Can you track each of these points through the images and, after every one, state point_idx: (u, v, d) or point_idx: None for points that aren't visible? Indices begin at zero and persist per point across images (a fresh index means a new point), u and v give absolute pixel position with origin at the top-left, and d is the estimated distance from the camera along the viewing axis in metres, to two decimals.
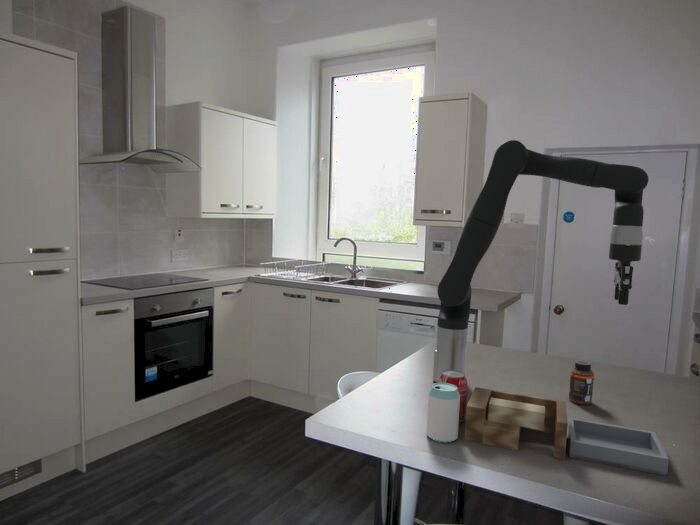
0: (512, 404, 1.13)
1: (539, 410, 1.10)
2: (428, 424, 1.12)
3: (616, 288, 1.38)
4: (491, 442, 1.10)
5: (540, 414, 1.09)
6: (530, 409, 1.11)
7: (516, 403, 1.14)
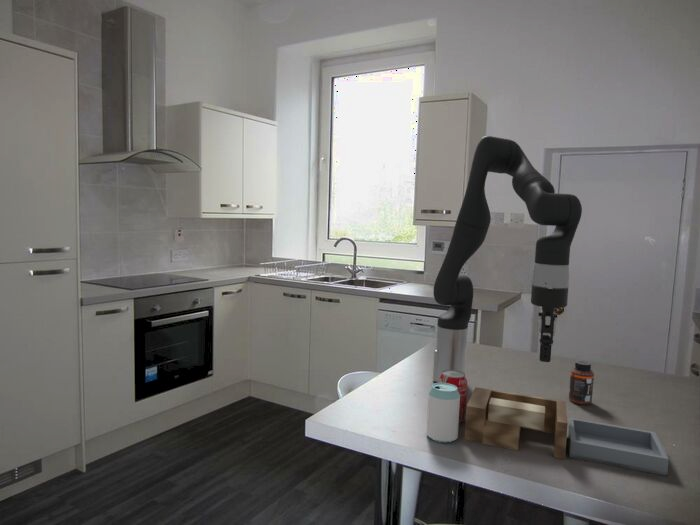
0: (512, 404, 1.13)
1: (539, 410, 1.10)
2: (428, 424, 1.12)
3: None
4: (491, 442, 1.10)
5: (540, 414, 1.09)
6: (530, 409, 1.11)
7: (516, 403, 1.14)
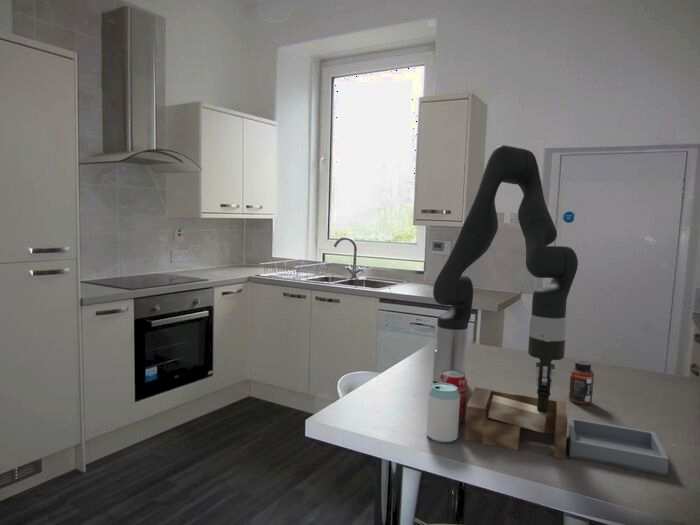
0: (514, 403, 1.13)
1: (541, 412, 1.10)
2: (428, 424, 1.12)
3: None
4: (491, 442, 1.10)
5: (542, 417, 1.09)
6: (532, 410, 1.10)
7: (518, 403, 1.14)
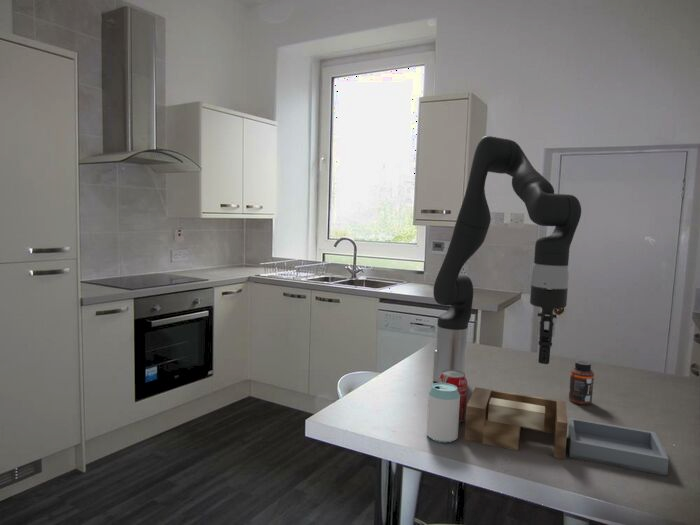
0: (512, 404, 1.13)
1: (539, 410, 1.10)
2: (428, 424, 1.12)
3: None
4: (491, 442, 1.10)
5: (540, 414, 1.09)
6: (530, 409, 1.11)
7: (516, 403, 1.14)
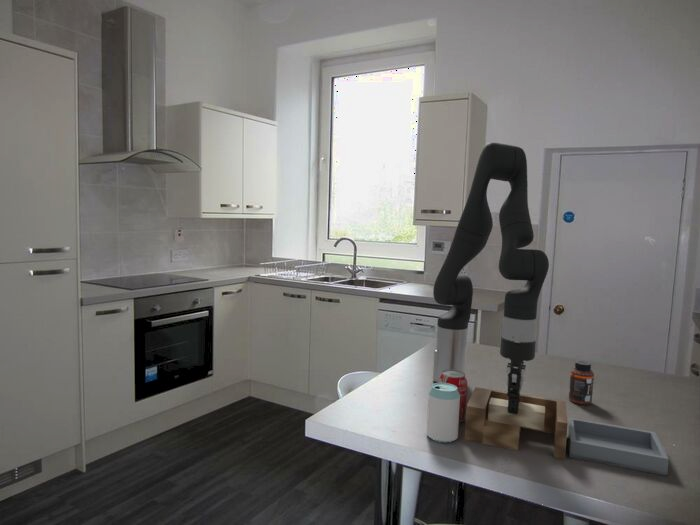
0: None
1: (539, 410, 1.10)
2: (428, 424, 1.12)
3: (511, 392, 1.15)
4: (491, 442, 1.10)
5: (540, 414, 1.09)
6: (530, 409, 1.11)
7: None
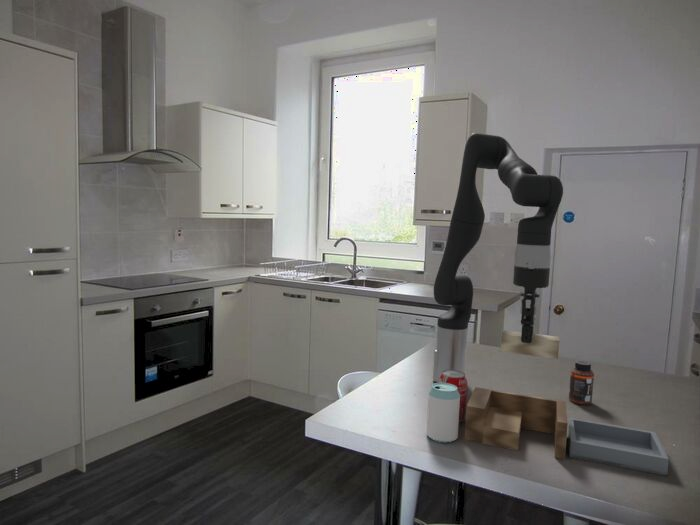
0: None
1: (553, 338, 1.08)
2: (428, 424, 1.12)
3: None
4: (491, 442, 1.10)
5: (554, 342, 1.07)
6: (544, 338, 1.09)
7: None
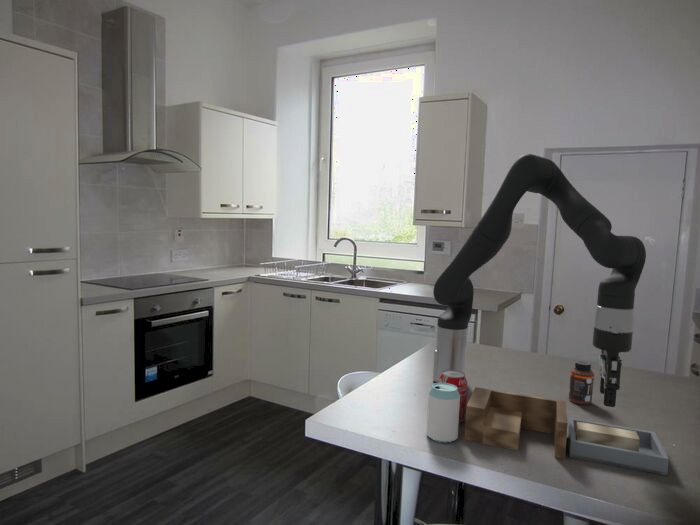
0: (602, 429, 1.09)
1: (632, 435, 1.07)
2: (428, 424, 1.12)
3: (602, 379, 1.12)
4: (491, 442, 1.10)
5: (634, 441, 1.05)
6: (623, 435, 1.07)
7: (605, 428, 1.10)
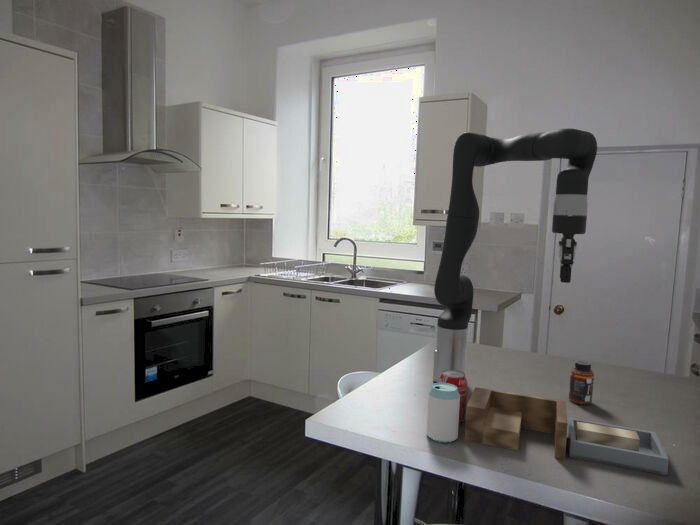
0: (602, 429, 1.09)
1: (632, 435, 1.07)
2: (428, 424, 1.12)
3: (561, 265, 1.24)
4: (491, 442, 1.10)
5: (634, 441, 1.05)
6: (623, 435, 1.07)
7: (605, 428, 1.10)
